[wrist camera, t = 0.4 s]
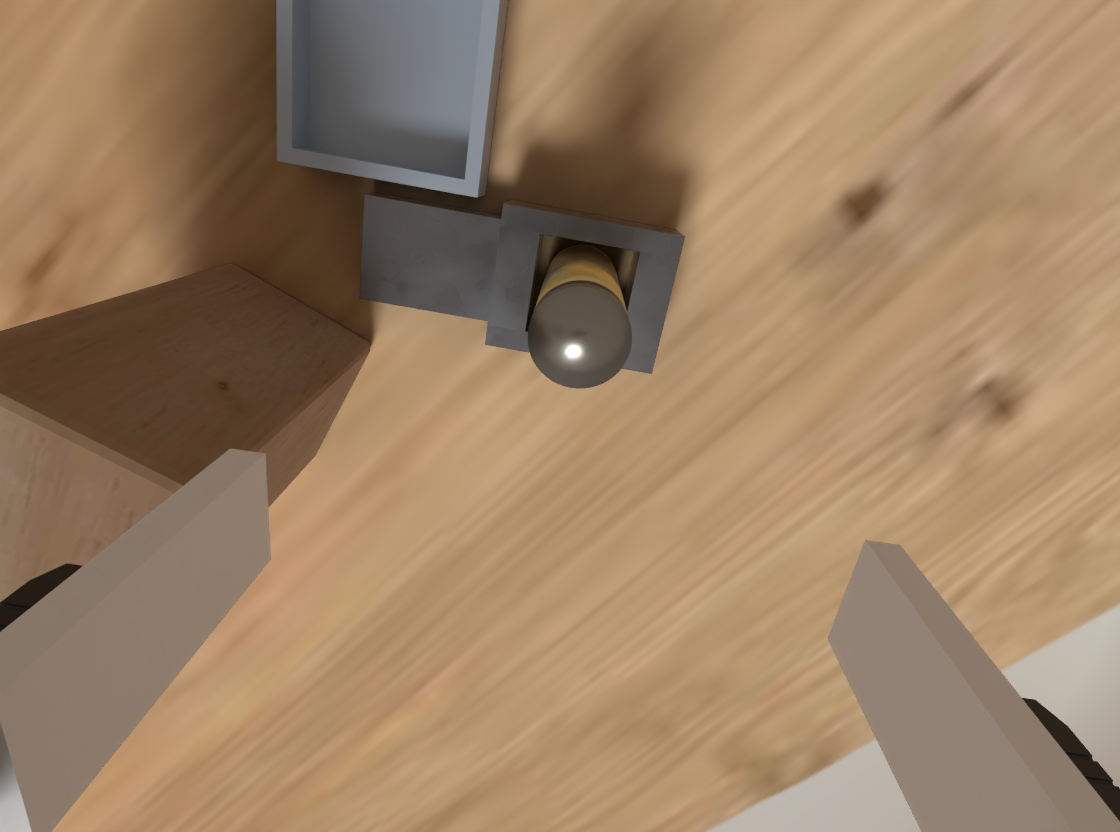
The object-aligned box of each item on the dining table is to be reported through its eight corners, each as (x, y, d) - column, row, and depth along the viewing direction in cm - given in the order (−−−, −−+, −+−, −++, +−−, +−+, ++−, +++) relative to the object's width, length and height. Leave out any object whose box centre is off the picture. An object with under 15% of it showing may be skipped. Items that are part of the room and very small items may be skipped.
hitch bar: (369, 307, 40) (349, 321, 37) (376, 174, 37) (355, 176, 34) (646, 356, 40) (651, 373, 37) (675, 229, 37) (684, 236, 34)
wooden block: (375, 342, 41) (202, 494, 22) (315, 458, 44) (121, 673, 26) (231, 259, 39) (-86, 349, 21) (180, 386, 43) (-131, 561, 24)
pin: (540, 309, 40) (520, 378, 27) (552, 238, 38) (536, 277, 25) (609, 321, 40) (620, 396, 27) (623, 251, 38) (642, 296, 26)
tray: (300, 160, 37) (276, 161, 34) (302, -65, 33) (276, -86, 30) (485, 194, 37) (477, 197, 34) (511, -24, 33) (504, -41, 30)
